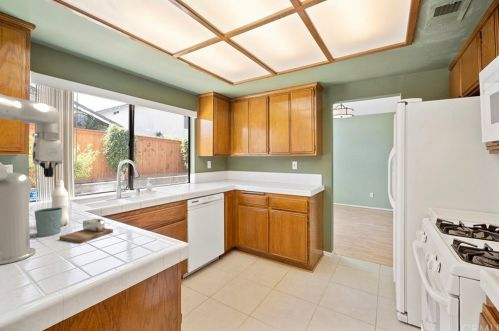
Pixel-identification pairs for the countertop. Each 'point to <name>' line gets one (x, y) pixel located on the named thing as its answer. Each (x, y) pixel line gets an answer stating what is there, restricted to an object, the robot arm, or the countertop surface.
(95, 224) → the latch bar
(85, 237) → the lock base
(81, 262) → the countertop surface
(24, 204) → the robot arm
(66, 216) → the water bottle
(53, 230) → the green plant pot
